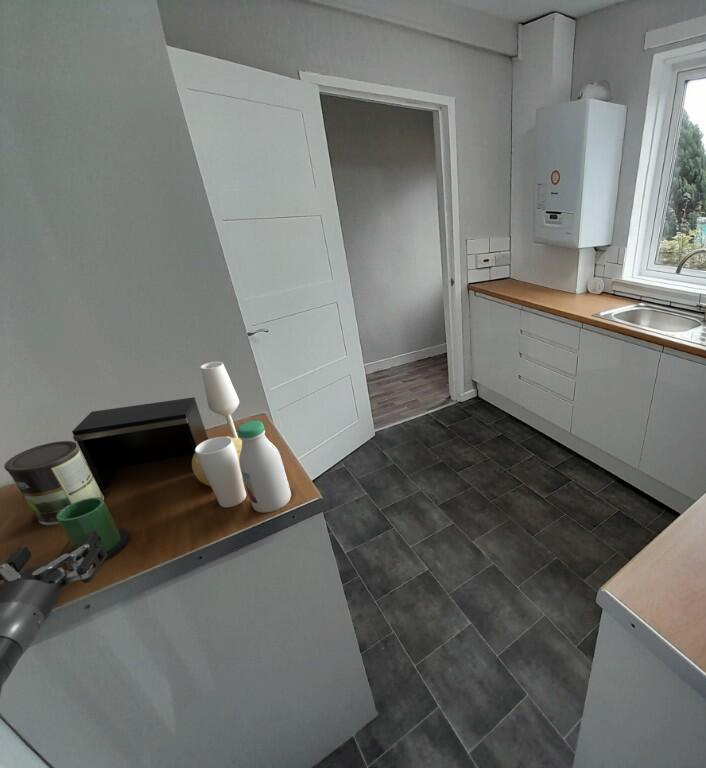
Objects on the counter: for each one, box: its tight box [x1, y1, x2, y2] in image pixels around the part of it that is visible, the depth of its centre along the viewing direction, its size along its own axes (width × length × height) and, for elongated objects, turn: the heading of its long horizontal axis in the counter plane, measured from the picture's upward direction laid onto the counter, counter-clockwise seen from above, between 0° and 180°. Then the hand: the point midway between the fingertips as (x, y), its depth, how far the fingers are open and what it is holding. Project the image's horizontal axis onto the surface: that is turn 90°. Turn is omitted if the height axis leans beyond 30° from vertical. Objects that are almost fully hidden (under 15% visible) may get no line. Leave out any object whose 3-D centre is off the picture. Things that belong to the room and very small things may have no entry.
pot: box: [56, 497, 121, 558], centre depth 76 cm, size 6×6×9 cm
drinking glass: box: [195, 436, 247, 508], centre depth 89 cm, size 7×7×15 cm
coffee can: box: [3, 440, 105, 526], centre depth 86 cm, size 10×10×14 cm
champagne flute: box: [199, 361, 240, 438], centre depth 107 cm, size 7×7×24 cm
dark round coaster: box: [72, 529, 130, 561], centre depth 78 cm, size 8×8×1 cm
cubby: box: [71, 396, 209, 492], centre depth 99 cm, size 20×10×16 cm, turn 115°
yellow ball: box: [191, 435, 243, 487], centre depth 97 cm, size 12×12×11 cm
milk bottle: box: [236, 420, 292, 514], centre depth 88 cm, size 8×8×20 cm
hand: (61, 542), depth 68 cm, fingers open, 8 cm apart
